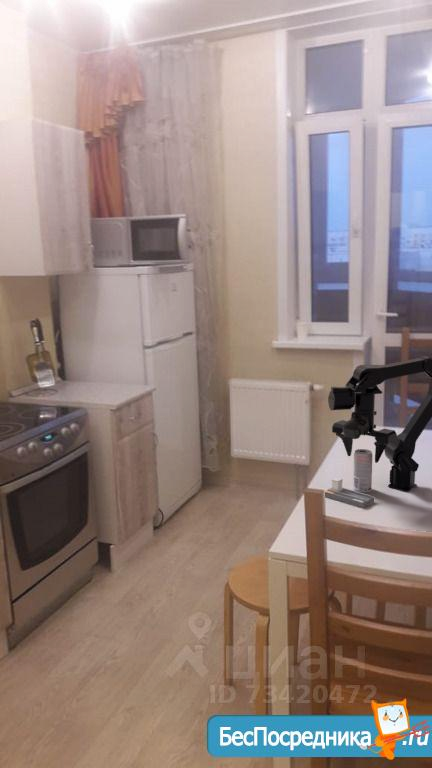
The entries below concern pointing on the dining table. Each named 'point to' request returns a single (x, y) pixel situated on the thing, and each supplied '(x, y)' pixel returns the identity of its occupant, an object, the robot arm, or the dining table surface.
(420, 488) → the dining table surface
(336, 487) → the switch knob
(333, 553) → the dining table surface
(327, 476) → the dining table surface
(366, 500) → the switch plate
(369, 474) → the energy drink
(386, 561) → the dining table surface
